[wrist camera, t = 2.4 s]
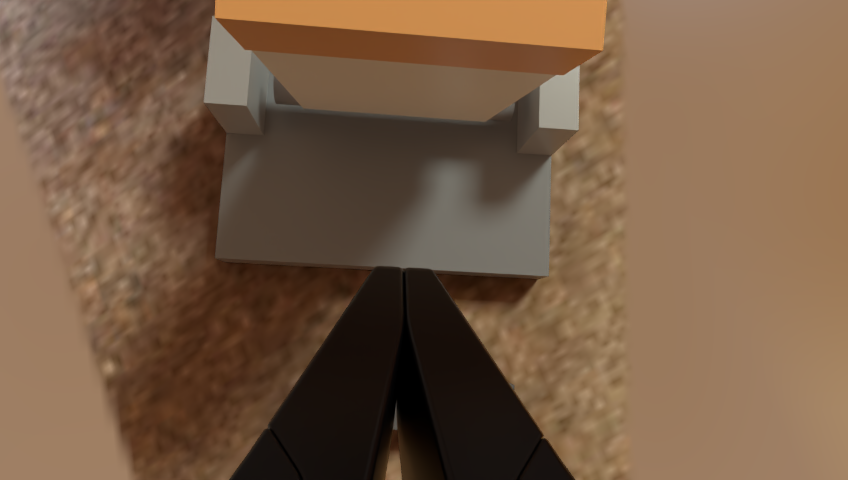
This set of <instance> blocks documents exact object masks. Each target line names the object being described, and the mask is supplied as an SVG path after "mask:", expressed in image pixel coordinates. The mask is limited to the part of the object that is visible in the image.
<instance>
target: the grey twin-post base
mask: <svg viewBox="0 0 848 480" xmlns="http://www.w3.org/2000/svg"><path fill="white" fill-rule="evenodd" d="M273 79H274V75H273V74H272V73H271V72H270V71H269V70H268V68H267V67H266V66H265V65H264V64H263V63H262V62H261V61H260V60H259V58H258V57H257V56H256V55H255V54H254V53H253V52H252V51H251V50H244V49H243V47H242V46H241V45H240V44H239V43H238V42H237V41H236V40H235V39H234V38H233V37H232V36H231V35H230V34H229V33H228V31H227V30H226V29H225V28H224V27H223V26H222V25H221V24H220V23H219V22H218V21H217V20H216V19H215V16H212V24H211V34H210V44H209V54H208V64H207V74H206V84H205V94H204V104H205V105H206V106H207V108H208V109H209V110H210V112H211V113H212V114H213V116H214V117H215V118H216V120H217V121H218V122H219V124H220V125H221V126H222V128H223V129H224V130H225V131H226V144H225V154H224V165H223V176H222V186H221V197H220V208H219V218H218V229H217V240H216V250H215V258H216V259H218V260H221V261H223V262H234V263H253V264H271V265H290V266H308V267H326V268H345V269H363V270H373V269H374V268H375V267H376V266H393V267H400V268H402V270H403V272H404V270H405V269H406V268H408V267H411V268H428V269H431V270H433V271H434V273H437V274H455V275H473V276H492V277H510V278H528V279H540V278H544V277H548V276H549V240H550V190H551V155H552V154H553V153H555V152H556V151H557V150H558V149H559V148H560V147H561V146H562V145H563V144H564V143H565V142H566V141H567V140H569V139H570V138H571V137H572V136H573V135H574V134H575V133H576V132H577V131H578V130H579V66H578V67H576V68H574V69H573V70H571V71H570V72H568V73H567V74H565V75H555V76H554V77H552V78H551V79H549V80H548V81H546V82H545V83H543V84H542V85H540V86H539V87H537V88H536V89H534V90H533V91H531V92H530V93H528V94H527V95H525V96H524V97H522V98H521V99H519V100H518V101H516V102H515V108H514V113H513V116H512V119H511V121H500V120H487V121H486V122H480V121H466V120H453V119H439V118H426V117H412V116H399V115H385V114H371V113H358V112H344V111H331V110H317V109H304V108H302V106H298V105H284V104H276V103H275V100H274V90H273Z"/></svg>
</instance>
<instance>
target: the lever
mask: <svg viewBox="0 0 848 480" xmlns="http://www.w3.org/2000/svg"><path fill="white" fill-rule="evenodd" d="M606 8H607V0H215V19H216V20H217V21H218V22H219V23H220V24H221V25H222V26H223V27H224V28H225V29H226V30H227V31H228V33H229V34H230V35H231V36H232V37H233V38H234V39H235V40H236V41H237V42H238V43H239V44H240V45H241V46H242V47H243V49H244V50H251V51H252V52H253V53H254V54H255V55H256V56H257V57H258V58H259V60H260V61H261V62H262V63H263V64H264V65H265V66H266V67H267V68H268V70H269V71H270V72H271V73H272V74H273V75H274V79H273V90H274V100H275V103H276V104H284V105H298V106H302V108H304V109H317V110H331V111H344V112H358V113H371V114H385V115H399V116H412V117H426V118H439V119H453V120H466V121H480V122H486V121H487V120H500V121H511V119H512V116H513V113H514V108H515V102H516V101H518V100H519V99H521V98H522V97H524V96H525V95H527V94H528V93H530V92H531V91H533V90H534V89H536V88H537V87H539V86H540V85H542V84H543V83H545V82H546V81H548V80H549V79H551V78H552V77H554V76H555V75H565V74H567V73H568V72H570V71H571V70H573V69H574V68H576V67H578V66H579V65H581V64H582V63H584V62H586V61H587V60H589V59H590V58H592V57H593V56H595V55H597V54H598V53H600V52H601V51H603V44H604V32H605V20H606Z"/></svg>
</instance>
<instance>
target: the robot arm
mask: <svg viewBox="0 0 848 480" xmlns="http://www.w3.org/2000/svg"><path fill="white" fill-rule="evenodd" d="M395 410H396V416H397V431H398V442H399V452H400V462H401V473H402V480H575V479H574V477H573V476H572V475H571V473H570V472H569V470H568V469H567V468H566V466H565V465H564V464H563V462H562V461H561V459H560V458H559V456H558V455H557V453H556V452H555V450H554V449H553V447H552V446H551V444H550V443H549V441H548V440H547V439H545V438H544V439H543V436H544V435H543V433H542V431H541V430H540V428H539V427H538V425H537V424H536V422H535V421H534V419H533V418H532V416H531V415H530V413H529V412H528V410H527V409H526V407H525V406H524V405H523V403H522V402H521V400H520V399H519V397H518V396H517V394H516V393H515V391H514V390H513V388H512V387H511V385H510V384H509V382H508V381H507V379H506V378H505V376H504V375H503V373H502V372H501V370H500V369H499V367H498V366H497V364H496V363H495V362H494V360H493V359H492V357H491V356H490V354H489V353H488V351H487V350H486V348H485V347H484V345H483V344H482V342H481V341H480V339H479V338H478V336H477V335H476V333H475V332H474V330H473V329H472V327H471V326H470V324H469V323H468V321H467V320H466V319H465V317H464V316H463V314H462V313H461V311H460V310H459V308H458V307H457V305H456V304H455V302H454V301H453V299H452V298H451V296H450V295H449V293H448V292H447V290H446V289H445V287H444V286H443V284H442V283H441V281H440V280H439V278H438V277H437V276H436V274H435V273H434V271H433V270H431V269H428V268H411V267H408V268H406V269H405V270H404V273H403V270H402V268H400V267H393V266H376V267H375V268H374V269H373V270H372V271H371V273H370V274H369V276H368V277H367V279H366V280H365V282H364V283H363V285H362V286H361V287H360V289H359V290H358V292H357V293H356V295H355V296H354V298H353V299H352V301H351V302H350V304H349V305H348V307H347V308H346V310H345V311H344V313H343V314H342V316H341V317H340V319H339V320H338V322H337V323H336V325H335V326H334V328H333V329H332V330H331V332H330V333H329V335H328V336H327V338H326V339H325V341H324V342H323V344H322V345H321V347H320V348H319V350H318V351H317V353H316V354H315V356H314V357H313V359H312V360H311V362H310V363H309V365H308V366H307V368H306V369H305V371H304V372H303V373H302V375H301V376H300V378H299V379H298V381H297V382H296V384H295V385H294V387H293V388H292V390H291V391H290V393H289V394H288V396H287V397H286V399H285V400H284V402H283V403H282V405H281V406H280V408H279V409H278V411H277V412H276V413H275V415H274V416H273V418H272V419H271V421H270V422H269V424H268V429H265V430H264V431H263V432H262V434H261V435H260V437H259V438H258V440H257V441H256V443H255V444H254V446H253V447H252V449H251V450H250V452H249V453H248V454H247V456H246V457H245V458H244V460H243V461H242V463H241V464H240V465H239V467H238V468H237V470H236V471H235V472H234V474H233V475H232V476H231V478H230V479H229V480H385V476H386V470H387V464H388V457H389V451H390V445H391V439H392V433H393V426H394V418H395Z"/></svg>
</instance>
